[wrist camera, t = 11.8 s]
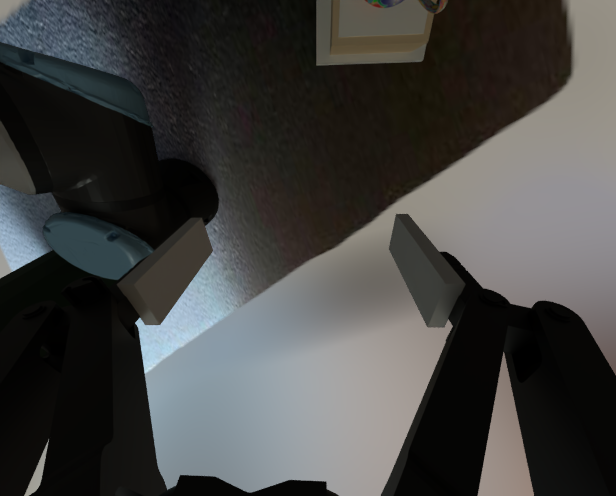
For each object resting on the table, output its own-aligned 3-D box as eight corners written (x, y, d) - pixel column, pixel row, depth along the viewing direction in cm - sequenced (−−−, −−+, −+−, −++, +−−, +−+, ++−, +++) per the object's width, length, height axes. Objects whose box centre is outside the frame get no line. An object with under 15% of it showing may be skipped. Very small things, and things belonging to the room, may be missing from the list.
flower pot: (132, 241, 55) (-5, 343, 32) (165, 308, 69) (86, 413, 46) (35, 236, 55) (-172, 332, 32) (87, 304, 69) (-30, 405, 46)
